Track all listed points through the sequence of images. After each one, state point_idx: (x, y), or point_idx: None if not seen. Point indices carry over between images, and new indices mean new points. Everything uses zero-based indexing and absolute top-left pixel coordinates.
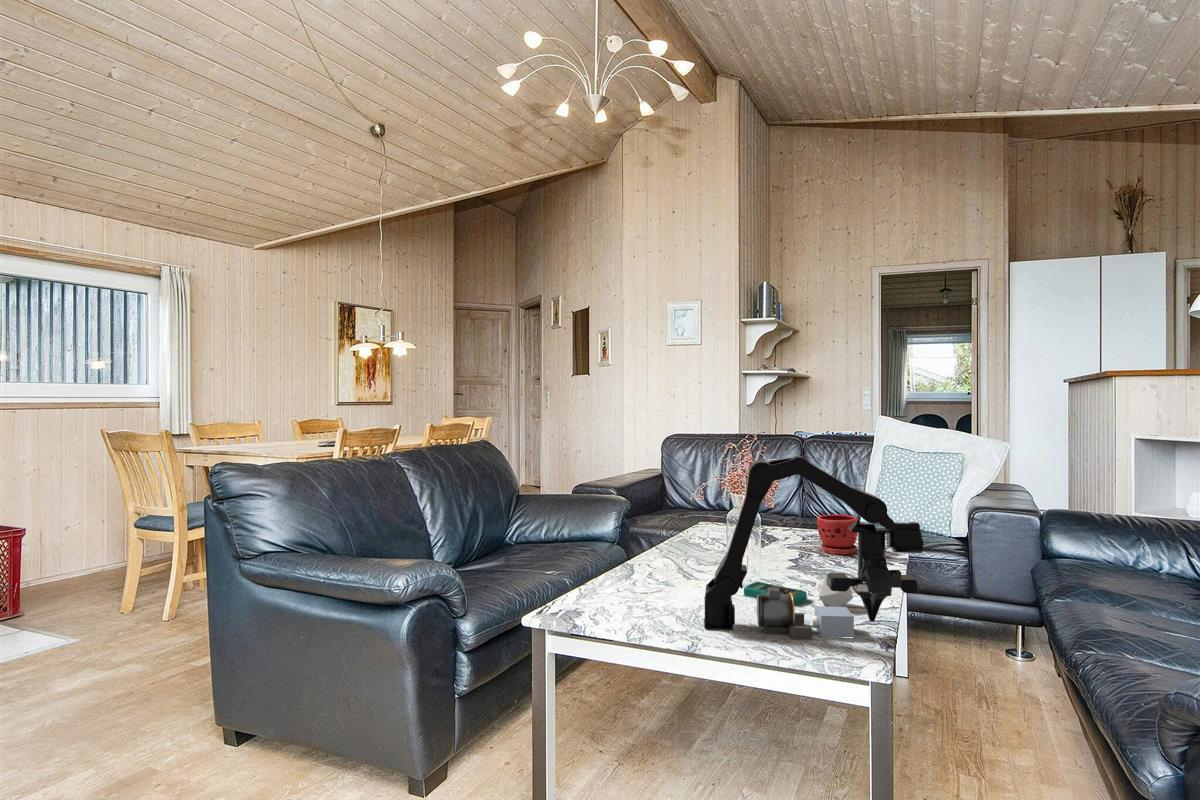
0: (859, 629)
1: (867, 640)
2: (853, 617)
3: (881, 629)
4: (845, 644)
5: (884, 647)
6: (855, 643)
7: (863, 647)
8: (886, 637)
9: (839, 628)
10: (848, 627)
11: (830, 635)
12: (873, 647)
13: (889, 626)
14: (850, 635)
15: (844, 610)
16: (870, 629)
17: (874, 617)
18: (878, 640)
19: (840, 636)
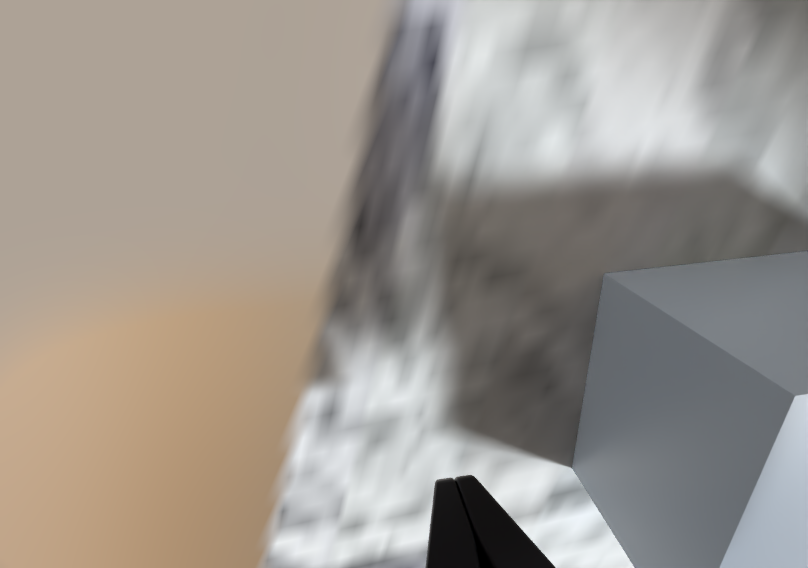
0: (491, 461)
1: (509, 243)
2: (783, 388)
3: (333, 495)
4: (746, 98)
5: (401, 56)
6: (645, 142)
7: (618, 25)
8: (326, 347)
9: (792, 296)
10: (723, 311)
11: (796, 261)
12: (517, 39)
13: (266, 556)
14: (648, 278)
15: (763, 562)
16: (413, 478)
17: (445, 515)
18: (412, 261)
19: (715, 268)
